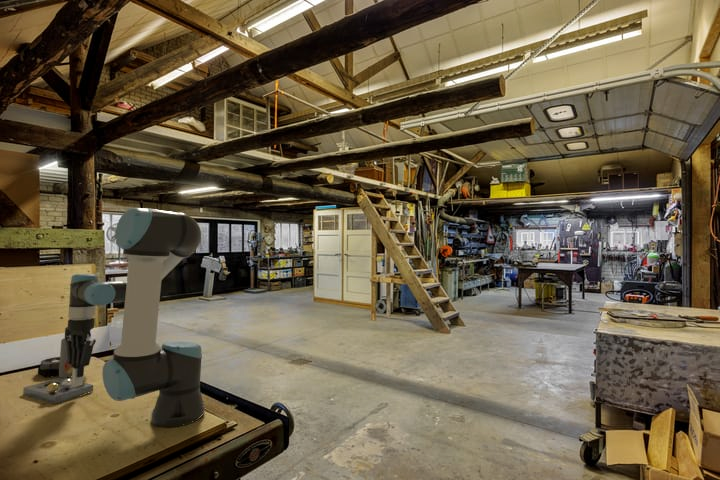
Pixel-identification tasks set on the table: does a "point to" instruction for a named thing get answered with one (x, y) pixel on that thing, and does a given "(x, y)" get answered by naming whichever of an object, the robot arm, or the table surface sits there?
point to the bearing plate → (58, 396)
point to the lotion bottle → (64, 358)
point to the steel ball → (67, 383)
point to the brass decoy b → (52, 387)
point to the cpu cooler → (49, 367)
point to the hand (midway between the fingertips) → (77, 385)
